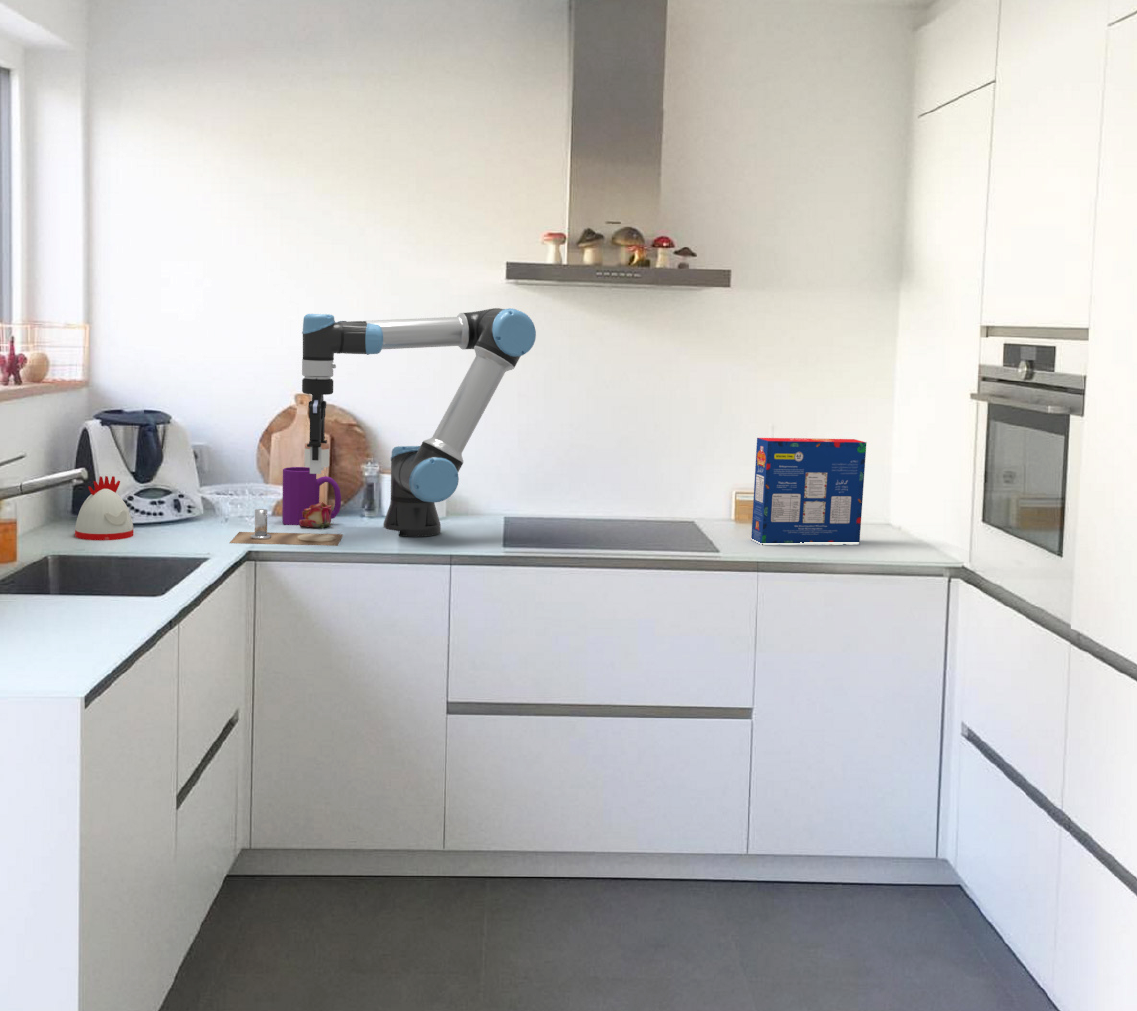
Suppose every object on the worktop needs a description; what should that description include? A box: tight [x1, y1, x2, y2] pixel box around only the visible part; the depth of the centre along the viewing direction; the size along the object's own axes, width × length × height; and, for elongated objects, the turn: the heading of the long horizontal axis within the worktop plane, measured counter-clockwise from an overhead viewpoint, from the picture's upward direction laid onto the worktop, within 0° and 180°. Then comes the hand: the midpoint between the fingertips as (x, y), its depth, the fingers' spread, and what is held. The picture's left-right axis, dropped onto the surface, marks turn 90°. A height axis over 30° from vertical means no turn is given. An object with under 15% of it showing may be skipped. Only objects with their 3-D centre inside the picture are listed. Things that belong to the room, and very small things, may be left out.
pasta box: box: [750, 437, 867, 543], centre depth 376 cm, size 28×8×28 cm, turn 103°
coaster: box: [298, 533, 335, 542], centre depth 347 cm, size 9×9×1 cm
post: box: [251, 508, 271, 540], centre depth 345 cm, size 5×5×7 cm
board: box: [229, 531, 344, 547], centre depth 347 cm, size 26×16×2 cm, turn 95°
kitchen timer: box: [74, 475, 134, 541], centre depth 349 cm, size 14×14×15 cm
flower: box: [298, 502, 333, 529], centre depth 365 cm, size 10×9×8 cm
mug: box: [281, 466, 342, 526], centre depth 376 cm, size 9×16×15 cm, turn 97°
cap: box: [303, 442, 330, 469], centre depth 344 cm, size 6×6×6 cm
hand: (316, 471), depth 345 cm, fingers closed on cap, 6 cm apart
